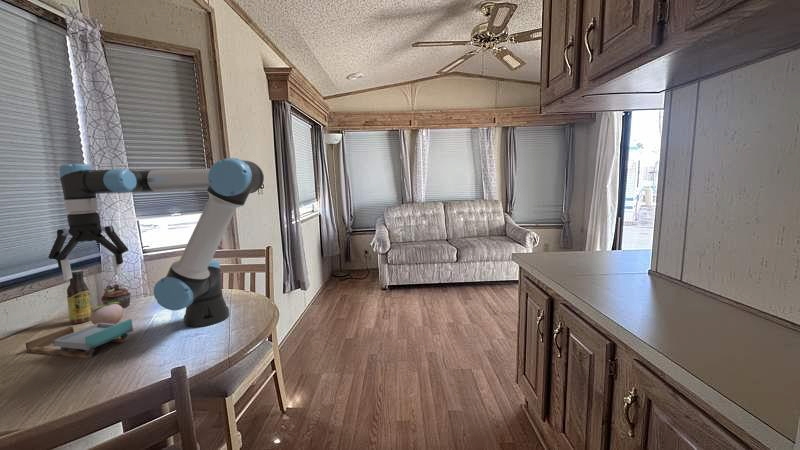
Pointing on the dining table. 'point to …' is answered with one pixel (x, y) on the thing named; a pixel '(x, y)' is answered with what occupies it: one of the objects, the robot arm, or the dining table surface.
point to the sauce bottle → (78, 299)
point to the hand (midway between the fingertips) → (93, 276)
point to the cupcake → (116, 295)
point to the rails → (48, 339)
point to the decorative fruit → (107, 313)
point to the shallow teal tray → (94, 336)
